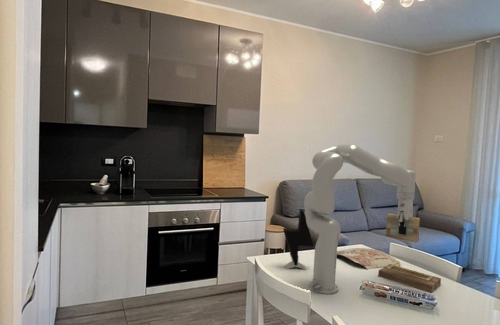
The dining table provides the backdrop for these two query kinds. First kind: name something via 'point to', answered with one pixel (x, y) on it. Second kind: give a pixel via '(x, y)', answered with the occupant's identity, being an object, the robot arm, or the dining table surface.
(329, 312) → the dining table surface
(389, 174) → the robot arm
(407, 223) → the wooden plaque
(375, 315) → the dining table surface
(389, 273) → the display stand
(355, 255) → the poster
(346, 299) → the dining table surface
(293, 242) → the award
